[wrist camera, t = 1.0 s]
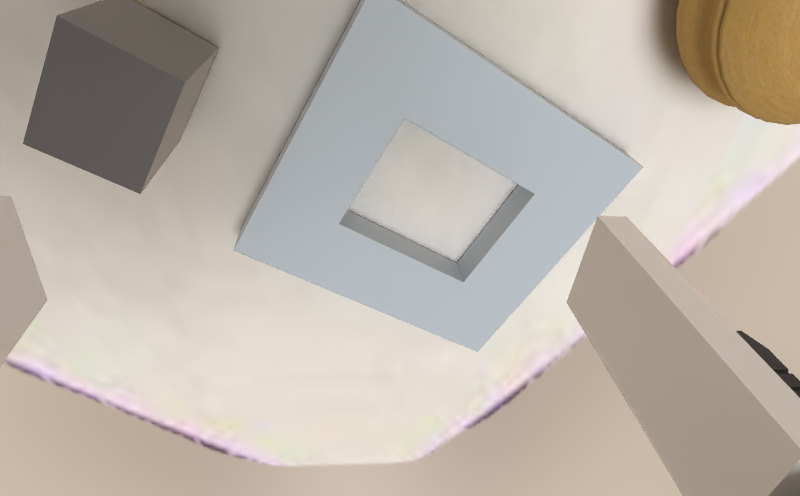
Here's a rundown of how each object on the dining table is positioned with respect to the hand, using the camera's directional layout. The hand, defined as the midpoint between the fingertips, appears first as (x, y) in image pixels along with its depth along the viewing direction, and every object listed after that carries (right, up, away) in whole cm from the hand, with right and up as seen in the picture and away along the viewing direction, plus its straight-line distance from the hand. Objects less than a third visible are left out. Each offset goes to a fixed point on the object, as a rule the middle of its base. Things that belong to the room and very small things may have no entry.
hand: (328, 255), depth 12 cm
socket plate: (+4, +4, +23) cm, 23 cm away
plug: (-12, +10, +17) cm, 23 cm away
